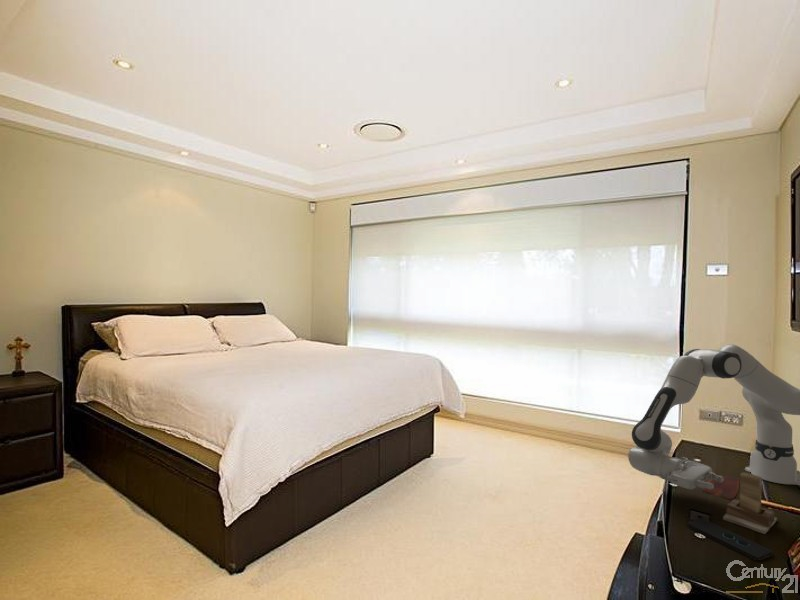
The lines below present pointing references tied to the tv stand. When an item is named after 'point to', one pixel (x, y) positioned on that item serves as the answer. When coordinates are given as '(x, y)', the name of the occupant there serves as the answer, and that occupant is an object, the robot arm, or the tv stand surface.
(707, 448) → the tv stand surface
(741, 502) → the oak plank
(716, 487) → the reddish wooden board
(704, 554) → the tv stand surface
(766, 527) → the wooden plank holder
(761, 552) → the smart home device
